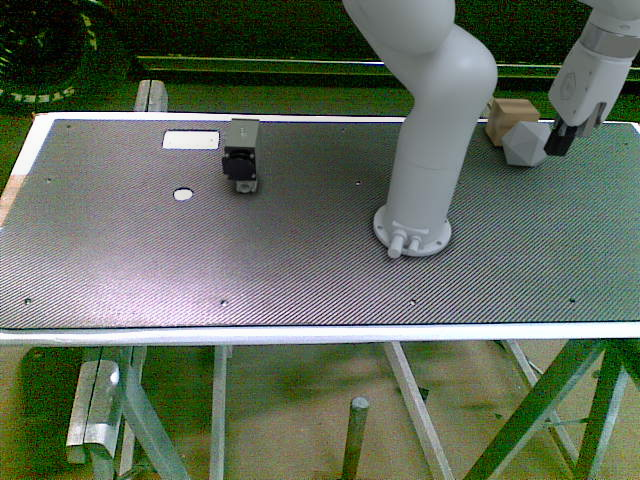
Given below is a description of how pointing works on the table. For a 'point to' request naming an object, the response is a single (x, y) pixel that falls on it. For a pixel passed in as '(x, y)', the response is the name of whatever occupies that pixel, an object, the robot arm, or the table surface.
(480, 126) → the table surface
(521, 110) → the maple block
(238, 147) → the pneumatic valve
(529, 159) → the die
